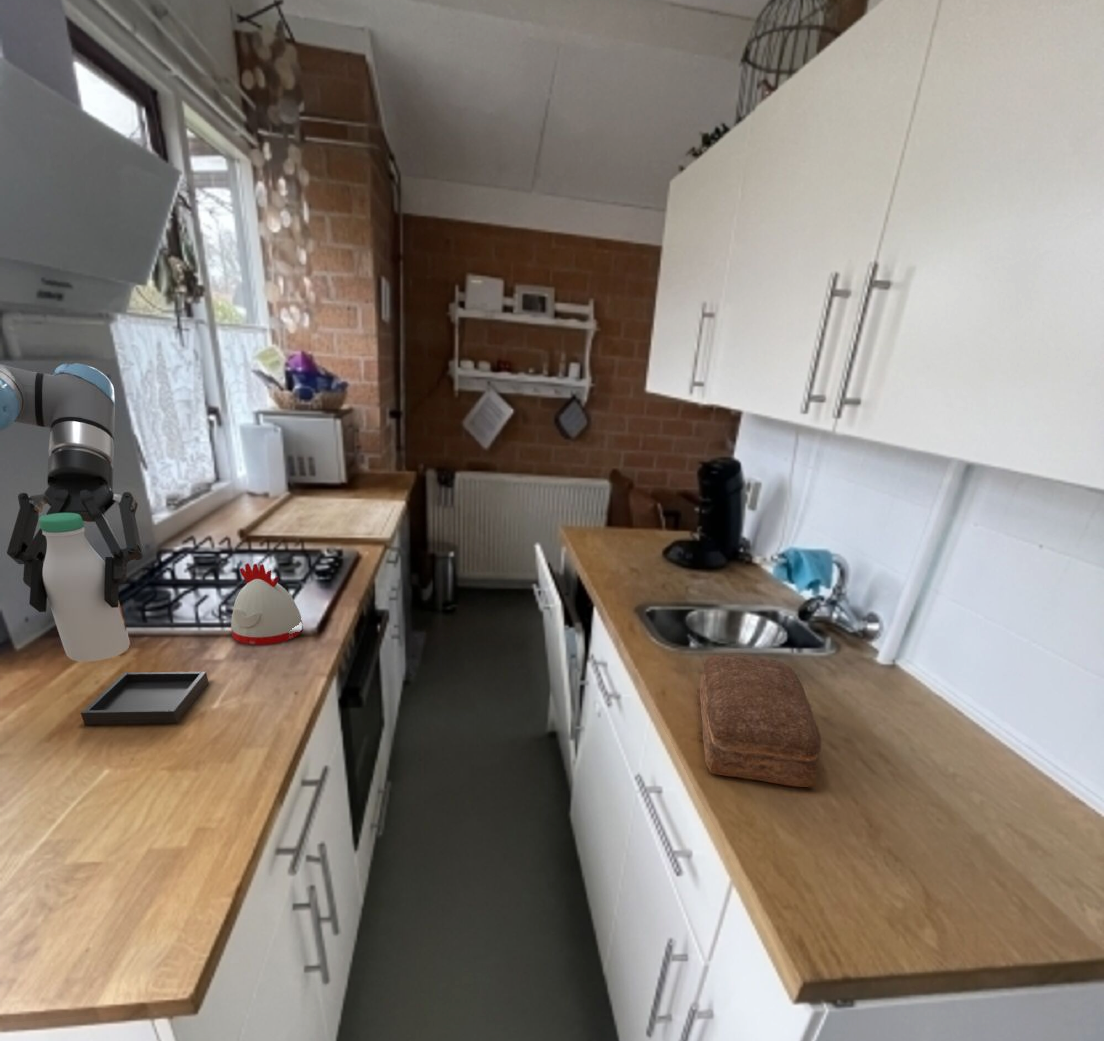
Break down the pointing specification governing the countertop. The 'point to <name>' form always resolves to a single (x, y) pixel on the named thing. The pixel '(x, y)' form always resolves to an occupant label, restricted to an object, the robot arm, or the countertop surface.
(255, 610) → the kitchen timer
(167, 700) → the dock tray
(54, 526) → the milk bottle
